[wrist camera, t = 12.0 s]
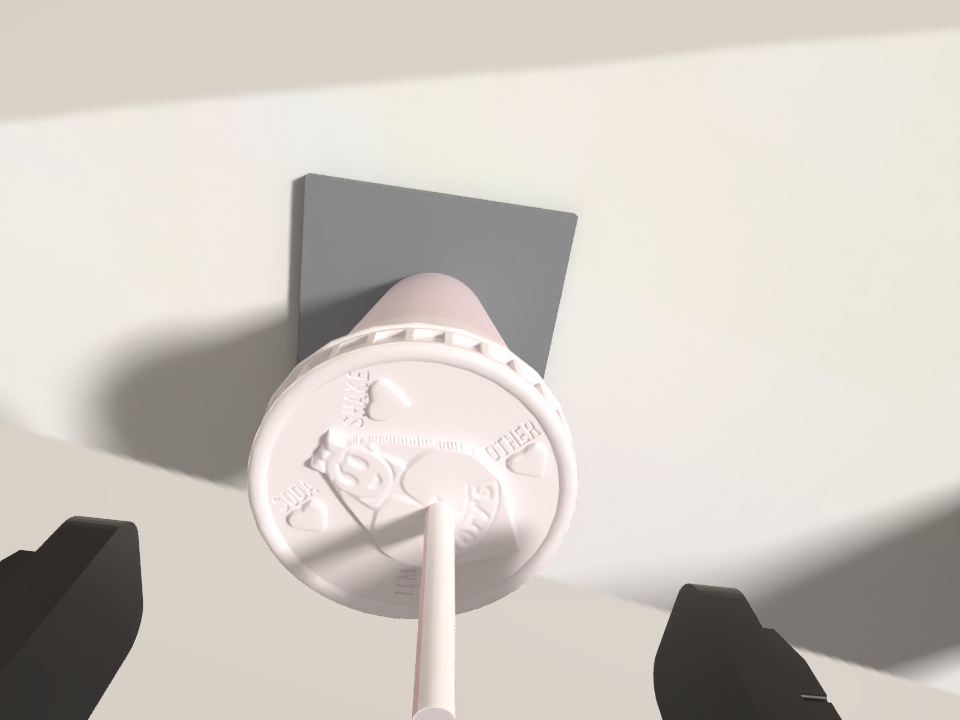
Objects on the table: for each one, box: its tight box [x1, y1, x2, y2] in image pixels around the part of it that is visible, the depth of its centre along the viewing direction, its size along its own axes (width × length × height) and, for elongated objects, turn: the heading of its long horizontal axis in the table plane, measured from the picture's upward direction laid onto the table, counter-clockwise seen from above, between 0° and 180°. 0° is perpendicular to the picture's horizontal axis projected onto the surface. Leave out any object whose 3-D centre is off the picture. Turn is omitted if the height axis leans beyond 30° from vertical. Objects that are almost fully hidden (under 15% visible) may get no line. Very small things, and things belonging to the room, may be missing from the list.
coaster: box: [297, 173, 578, 379], centre depth 21 cm, size 8×8×1 cm
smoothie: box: [247, 273, 578, 720], centre depth 14 cm, size 6×6×14 cm
